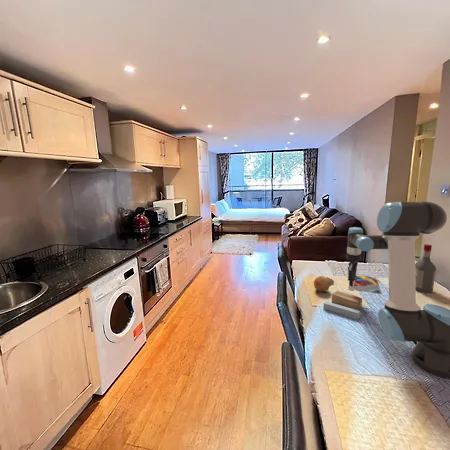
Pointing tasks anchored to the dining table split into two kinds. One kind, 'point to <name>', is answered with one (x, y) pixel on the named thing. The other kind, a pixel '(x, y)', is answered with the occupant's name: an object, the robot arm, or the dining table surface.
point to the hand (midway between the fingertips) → (351, 290)
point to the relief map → (367, 284)
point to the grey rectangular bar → (342, 310)
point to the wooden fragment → (330, 281)
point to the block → (346, 300)
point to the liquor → (425, 272)
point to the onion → (321, 283)
